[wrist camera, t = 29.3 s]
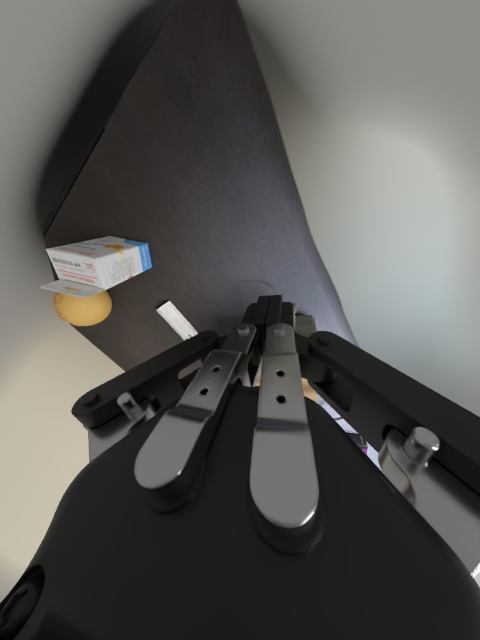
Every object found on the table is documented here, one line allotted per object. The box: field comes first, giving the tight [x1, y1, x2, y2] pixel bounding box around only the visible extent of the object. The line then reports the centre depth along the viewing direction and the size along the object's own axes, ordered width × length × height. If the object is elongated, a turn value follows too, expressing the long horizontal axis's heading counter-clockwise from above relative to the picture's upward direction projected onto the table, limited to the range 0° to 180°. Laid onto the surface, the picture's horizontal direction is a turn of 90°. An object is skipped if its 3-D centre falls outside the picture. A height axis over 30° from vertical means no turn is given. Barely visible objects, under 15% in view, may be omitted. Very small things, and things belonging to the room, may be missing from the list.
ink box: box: [40, 236, 152, 298], centre depth 31 cm, size 8×5×15 cm, turn 84°
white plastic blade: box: [157, 301, 198, 341], centre depth 45 cm, size 5×15×1 cm, turn 35°
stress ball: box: [53, 287, 112, 326], centre depth 41 cm, size 10×10×10 cm
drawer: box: [293, 303, 314, 337], centre depth 35 cm, size 20×11×8 cm, turn 9°
